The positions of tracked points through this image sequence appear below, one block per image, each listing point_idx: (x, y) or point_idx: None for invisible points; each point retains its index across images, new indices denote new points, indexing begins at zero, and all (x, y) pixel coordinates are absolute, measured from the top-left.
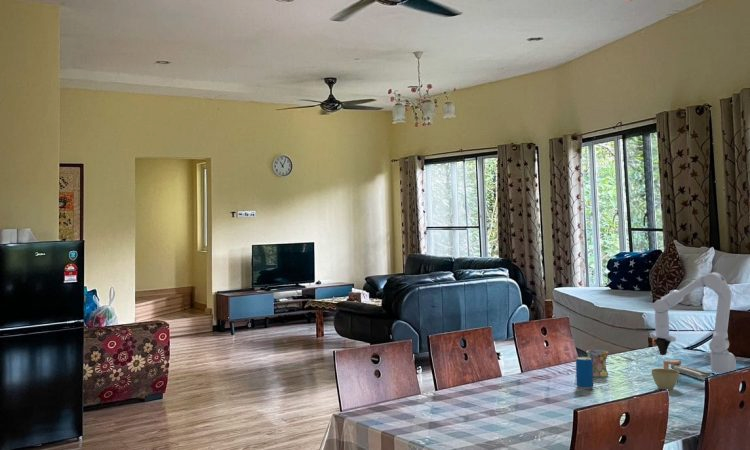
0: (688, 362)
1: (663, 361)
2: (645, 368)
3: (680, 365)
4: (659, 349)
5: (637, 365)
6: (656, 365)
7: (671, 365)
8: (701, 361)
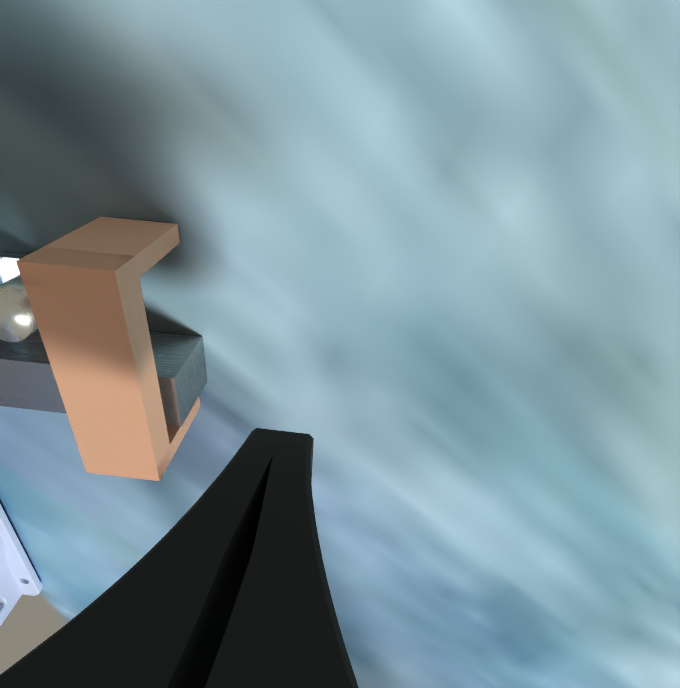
0: (394, 623)
1: (113, 269)
2: (389, 34)
3: (32, 388)
4: (283, 514)
5: (658, 103)
6: (460, 355)
7: (170, 363)
8: (374, 679)
